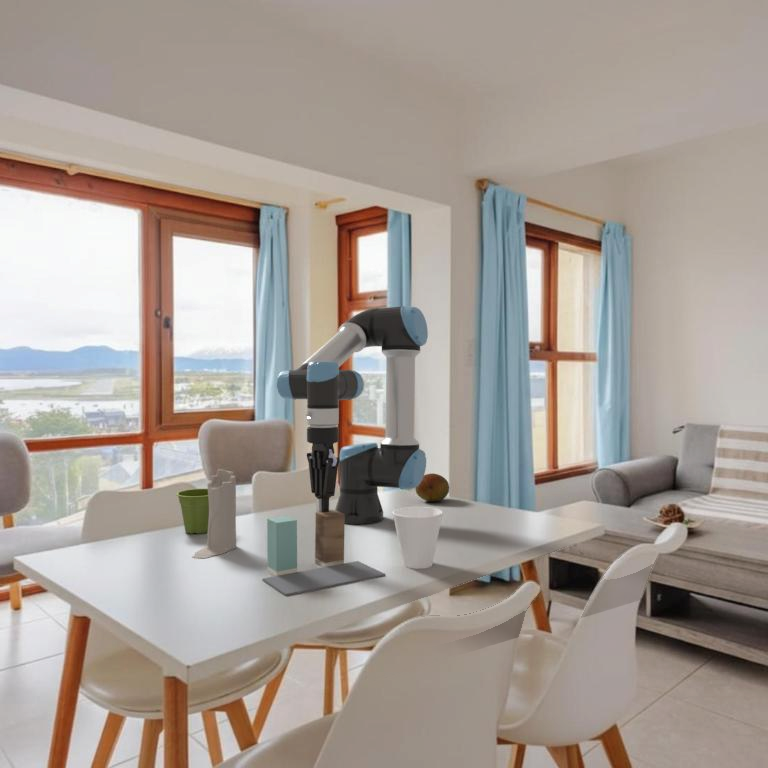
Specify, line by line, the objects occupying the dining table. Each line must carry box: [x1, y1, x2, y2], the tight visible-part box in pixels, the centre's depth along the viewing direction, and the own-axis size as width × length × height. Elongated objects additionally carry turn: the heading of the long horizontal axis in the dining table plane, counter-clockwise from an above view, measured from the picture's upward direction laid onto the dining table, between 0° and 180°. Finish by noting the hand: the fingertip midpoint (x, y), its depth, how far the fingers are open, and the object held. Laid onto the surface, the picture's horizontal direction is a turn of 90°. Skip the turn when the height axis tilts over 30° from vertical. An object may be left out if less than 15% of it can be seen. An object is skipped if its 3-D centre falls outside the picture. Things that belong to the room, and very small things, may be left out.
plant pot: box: [176, 488, 209, 535], centre depth 187 cm, size 12×12×11 cm
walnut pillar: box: [314, 509, 346, 568], centre depth 154 cm, size 5×5×12 cm
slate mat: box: [261, 560, 386, 597], centre depth 143 cm, size 12×24×1 cm, turn 123°
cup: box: [392, 506, 444, 570], centre depth 153 cm, size 12×12×12 cm
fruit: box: [414, 473, 450, 503], centre depth 229 cm, size 12×12×10 cm
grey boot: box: [192, 468, 237, 559], centre depth 166 cm, size 7×14×20 cm, turn 160°
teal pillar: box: [266, 515, 298, 577], centre depth 148 cm, size 5×5×12 cm
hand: (322, 524), depth 156 cm, fingers closed
